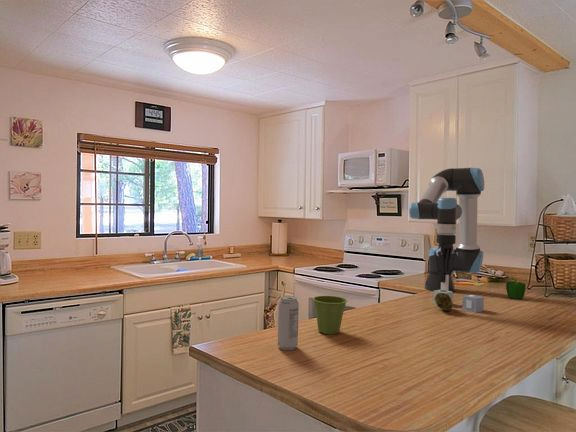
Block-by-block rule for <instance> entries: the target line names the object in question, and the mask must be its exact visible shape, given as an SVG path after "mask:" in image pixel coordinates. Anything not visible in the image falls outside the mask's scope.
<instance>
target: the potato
mask: <svg viewBox="0 0 576 432" xmlns="http://www.w3.org/2000/svg"><path fill="white" fill-rule="evenodd" d="M434 300H435V303H436V304H435V305H436V306H437V307H438V308H439V309H440V310H442V311H445V312H449V311H451V310H452V308H453V306H454V304H452V300H451V298H450V296H449V295H448V294H445V293H438V294H437V295H436V296H435V298H434Z"/></svg>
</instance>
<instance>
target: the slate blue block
mask: <svg viewBox="0 0 576 432" xmlns="http://www.w3.org/2000/svg"><path fill="white" fill-rule="evenodd" d="M484 299H485V297H484V296H481V295H474V294H467V295H466V294H465V295H463V296H462V311H467V312H471V313H475V314H476V313H480V312H484V304H485V302H484V301H485V300H484Z"/></svg>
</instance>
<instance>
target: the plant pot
mask: <svg viewBox="0 0 576 432" xmlns="http://www.w3.org/2000/svg"><path fill="white" fill-rule="evenodd" d="M312 301H313V302H314V303H313V304H314V307H315V313H316V322H317V330H318V332H319V333H322V334H325V335H329V336H330V335H335V334H339V333H340V331H341V326H342V319H343V314H344V310H345V308H346V304H347V302H349V301H348V299H347V298H345V297H341V296H336V295H317V296H314V297H312Z"/></svg>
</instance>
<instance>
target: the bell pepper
mask: <svg viewBox="0 0 576 432" xmlns="http://www.w3.org/2000/svg"><path fill="white" fill-rule="evenodd" d="M510 279H511V280H513V281H507V282H506V284H505V288H506V293H507V297H508V298H510V299H514V300H520V299H521V300H522V299H524V296H525V294H526V289H527V285H526V283H524V282H520V281H517V279H516V278H515V277H511V278H510Z"/></svg>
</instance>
